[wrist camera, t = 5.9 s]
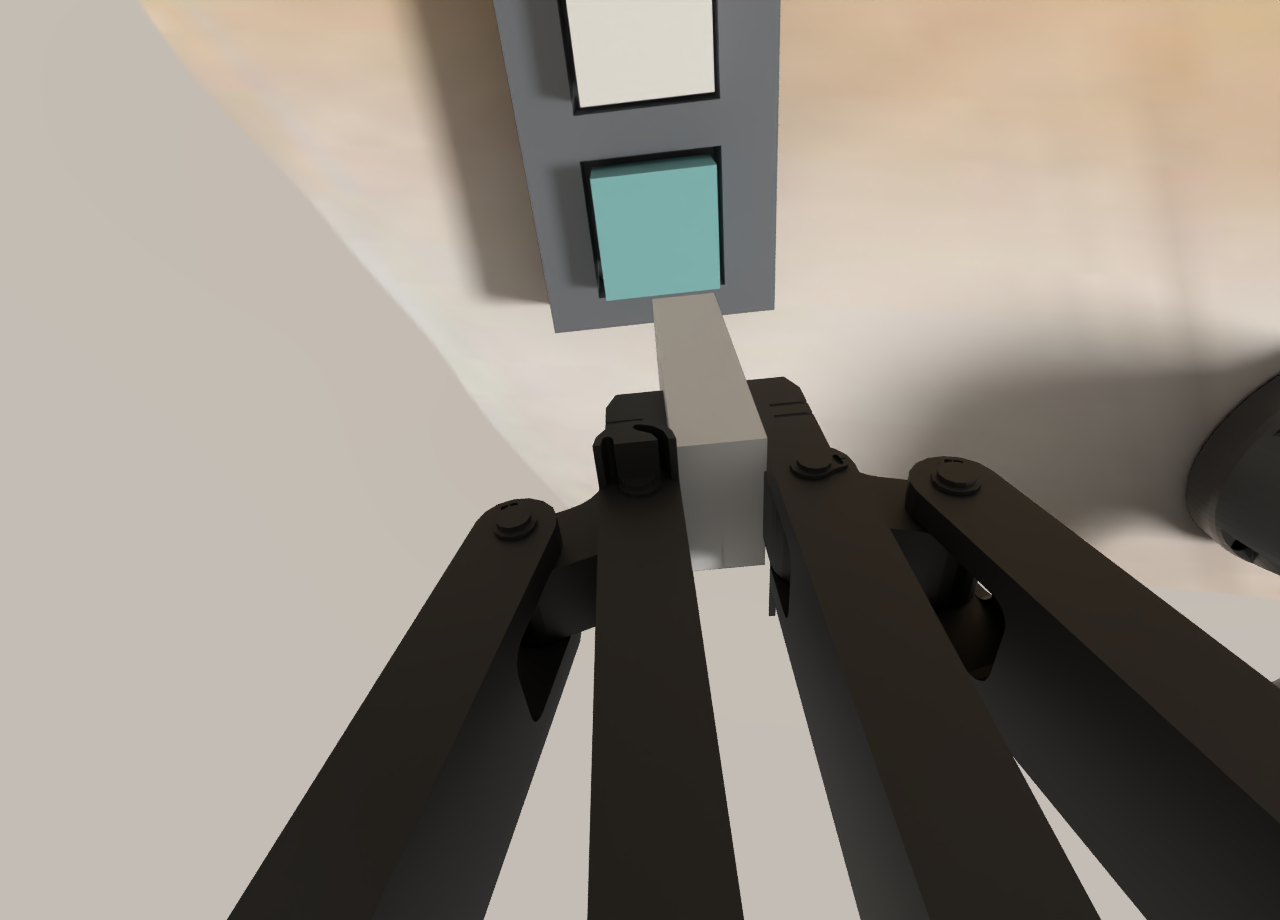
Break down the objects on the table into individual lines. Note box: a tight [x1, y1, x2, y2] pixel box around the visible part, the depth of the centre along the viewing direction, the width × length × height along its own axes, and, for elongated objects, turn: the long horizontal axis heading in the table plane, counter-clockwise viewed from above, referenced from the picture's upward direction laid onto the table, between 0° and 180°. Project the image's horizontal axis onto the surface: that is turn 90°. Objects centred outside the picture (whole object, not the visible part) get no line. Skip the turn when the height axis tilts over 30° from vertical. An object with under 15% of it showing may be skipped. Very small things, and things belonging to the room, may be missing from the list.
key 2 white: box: [566, 0, 715, 107], centre depth 22 cm, size 5×5×2 cm
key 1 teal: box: [590, 154, 720, 301], centre depth 27 cm, size 5×5×2 cm
